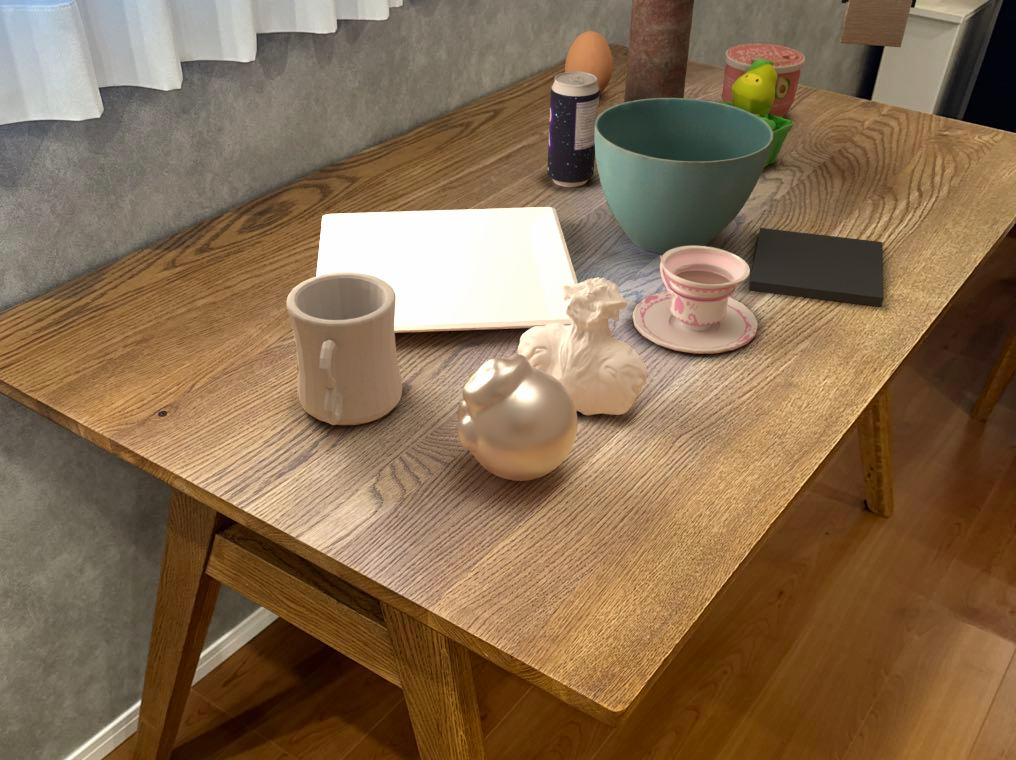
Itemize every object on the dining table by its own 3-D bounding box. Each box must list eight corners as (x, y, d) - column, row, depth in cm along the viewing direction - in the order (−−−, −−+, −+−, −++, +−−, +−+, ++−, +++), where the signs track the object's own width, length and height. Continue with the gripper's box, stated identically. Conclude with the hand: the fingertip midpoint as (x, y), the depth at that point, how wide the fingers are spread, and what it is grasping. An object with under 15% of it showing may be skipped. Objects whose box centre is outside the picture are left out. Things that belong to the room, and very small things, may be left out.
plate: (588, 340, 97) (590, 320, 95) (312, 350, 95) (310, 331, 94) (554, 222, 116) (554, 204, 115) (324, 229, 115) (322, 212, 114)
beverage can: (586, 169, 128) (593, 68, 120) (598, 187, 123) (606, 84, 116) (542, 173, 127) (546, 71, 119) (552, 191, 123) (557, 87, 115)
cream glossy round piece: (501, 422, 87) (502, 317, 80) (594, 462, 82) (604, 355, 76) (434, 473, 81) (429, 366, 75) (530, 520, 77) (535, 410, 70)
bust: (642, 434, 89) (685, 308, 88) (618, 424, 82) (665, 288, 81) (521, 395, 94) (561, 276, 92) (489, 383, 87) (531, 254, 85)
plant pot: (748, 209, 119) (767, 101, 111) (756, 283, 105) (779, 165, 97) (592, 200, 121) (600, 93, 113) (580, 271, 107) (589, 155, 99)
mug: (311, 368, 93) (299, 268, 86) (410, 374, 92) (404, 272, 86) (278, 449, 84) (261, 343, 77) (387, 456, 83) (379, 349, 77)
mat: (880, 250, 111) (882, 241, 110) (880, 306, 101) (883, 297, 101) (758, 236, 113) (760, 227, 113) (748, 289, 104) (750, 280, 103)
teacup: (781, 323, 99) (794, 264, 95) (709, 371, 93) (720, 309, 89) (680, 282, 105) (688, 225, 101) (606, 324, 99) (612, 265, 95)
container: (711, 124, 139) (720, 62, 134) (721, 99, 147) (730, 40, 141) (790, 132, 137) (802, 70, 132) (796, 107, 144) (808, 47, 139)
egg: (609, 90, 150) (615, 25, 144) (610, 106, 145) (615, 39, 139) (563, 89, 150) (567, 24, 144) (562, 105, 145) (566, 38, 139)
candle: (636, 172, 127) (654, -5, 114) (607, 152, 132) (621, -20, 119) (688, 162, 129) (712, -12, 116) (657, 142, 134) (677, -27, 121)
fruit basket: (679, 154, 132) (691, 61, 124) (721, 136, 136) (736, 46, 128) (752, 179, 125) (769, 83, 118) (794, 161, 130) (813, 67, 122)
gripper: (1012, -196, 103) (958, -1, 115) (834, -200, 107) (800, -11, 119) (1018, -187, 97) (961, 17, 109) (831, -192, 101) (795, 6, 113)
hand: (877, 0), depth 114 cm, fingers closed on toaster, 6 cm apart
